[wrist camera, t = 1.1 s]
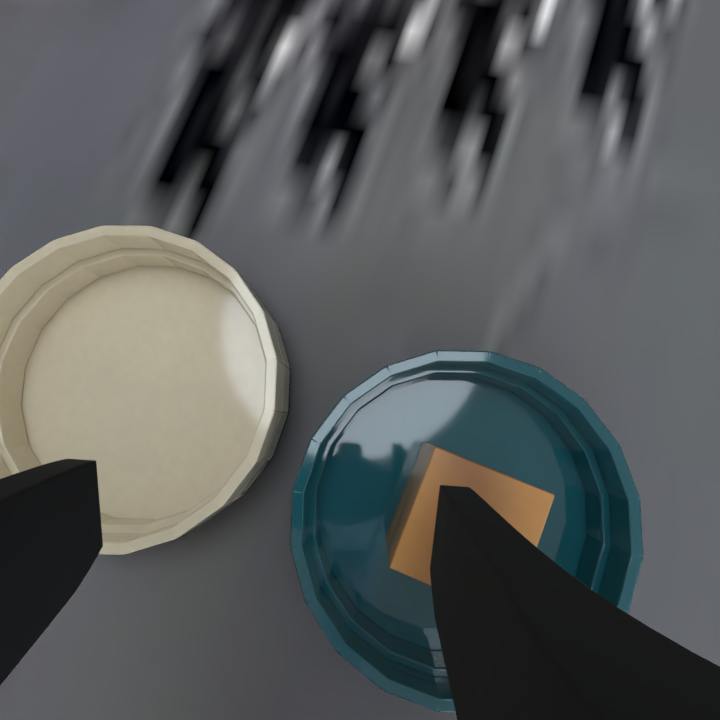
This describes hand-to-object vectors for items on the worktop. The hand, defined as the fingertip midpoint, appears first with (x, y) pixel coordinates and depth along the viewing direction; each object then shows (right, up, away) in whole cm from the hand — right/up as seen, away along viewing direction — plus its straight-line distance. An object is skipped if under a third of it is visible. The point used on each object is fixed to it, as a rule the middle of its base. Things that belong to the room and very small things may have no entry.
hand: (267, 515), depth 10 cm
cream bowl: (-8, +2, +12) cm, 14 cm away
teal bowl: (+6, -3, +11) cm, 13 cm away
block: (+6, -3, +11) cm, 13 cm away
